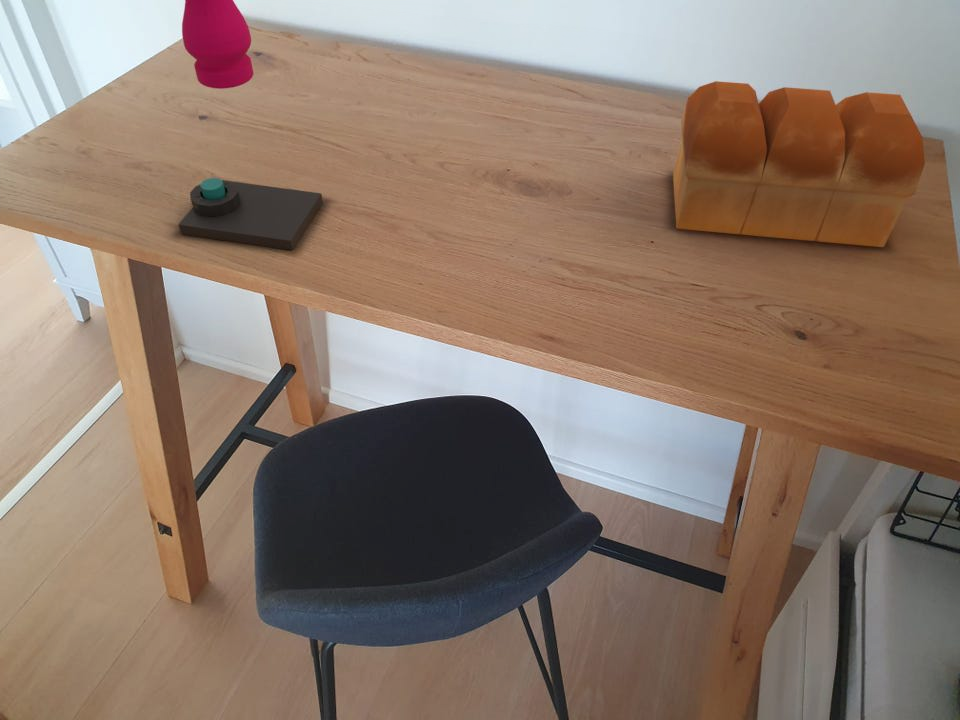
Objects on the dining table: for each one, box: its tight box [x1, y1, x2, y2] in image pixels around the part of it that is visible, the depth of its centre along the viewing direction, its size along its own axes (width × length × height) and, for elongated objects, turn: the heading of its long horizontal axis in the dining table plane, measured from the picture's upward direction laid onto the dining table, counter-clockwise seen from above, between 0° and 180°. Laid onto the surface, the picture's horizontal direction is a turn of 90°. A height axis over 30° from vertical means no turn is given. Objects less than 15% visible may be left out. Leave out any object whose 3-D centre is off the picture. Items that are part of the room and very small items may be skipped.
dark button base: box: [177, 179, 324, 251], centre depth 92 cm, size 14×10×3 cm
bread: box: [672, 80, 926, 248], centre depth 90 cm, size 25×12×15 cm, turn 82°
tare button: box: [199, 177, 226, 200], centre depth 91 cm, size 3×3×2 cm
